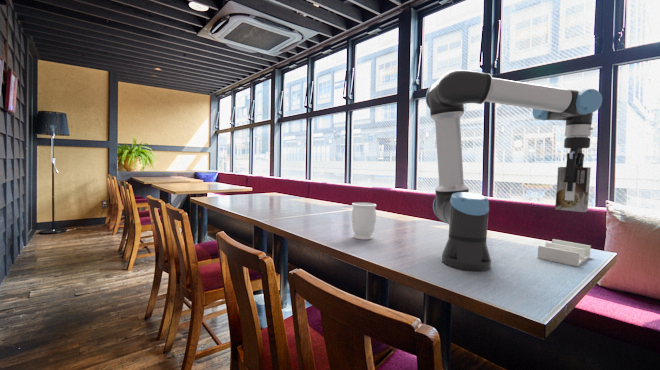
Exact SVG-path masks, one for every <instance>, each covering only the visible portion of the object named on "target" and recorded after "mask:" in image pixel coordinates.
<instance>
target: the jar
mask: <svg viewBox="0 0 660 370" xmlns="http://www.w3.org/2000/svg"><path fill="white" fill-rule="evenodd" d="M351 206H352V210H351V224H352V225H351V226H352V231H353V238H354V239H357V240H361V241H362V240H363V241H366V240H372V239H373V237H374V236H373V235H372V234H373V233H374V231H375V227H376V226H375V225H376V223H377V212H376V208H377V207H378V206H377V204H376V203H373V202H365V201H364V202H363V201H362V202H359V201H358V202H352V203H351Z"/></svg>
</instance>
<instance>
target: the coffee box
mask: <svg viewBox="0 0 660 370" xmlns="http://www.w3.org/2000/svg"><path fill="white" fill-rule="evenodd" d="M591 169H592V168H591V167H590V166H589V167H587V166H583V167H577V170H576V178H575V182H574V183H576V185H575V197H574V201H570V200H565V190H566V182H563V180H565V172H566V166H559V167H557V175H556V181H557V182H556V191H555V192H556V193H555V207H554V210H559V211H568V212H569V211H570V212H576V213H577V212H579V213H586V212H588V210H589V209H588V208H589V194H590V193H589V192H590V179H591Z"/></svg>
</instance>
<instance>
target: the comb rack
mask: <svg viewBox="0 0 660 370" xmlns="http://www.w3.org/2000/svg"><path fill="white" fill-rule="evenodd" d="M537 247H538V248H537V259H540V260H546V261H551V262H555V263H559V264H564V265H569V266H574V267H580V266H581V265H582V264H584V263H585V262H586V261H588V260H589V259H590V258H591V249H592V245H589V244H584V243H578V242H572V241H566V240H561V239H555V238H552V240H551V242H545V245H537Z"/></svg>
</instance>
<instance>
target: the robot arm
mask: <svg viewBox="0 0 660 370" xmlns="http://www.w3.org/2000/svg"><path fill="white" fill-rule="evenodd" d="M425 102H426V105H427V108H429V112H430V113H429V114H430V119H432V120H433V121H434V122H435V123H434V126H435V140H436V155H437V169H438V171H437V172H438V186H437V187H436V188H435V189H434V190H435V192H434V193H435V198H434V199H433V202H432V210H433V213H434V215H435V216H436V218H437V219H438V220H440V221H441V222H442V223H445V224H447V225H448V239H447V241H446V243H445V245H444V246H445V247H444V249H443V250H442V254H441V262H442V263H443V264H445V265H447V266H450V267H452V268H455V269H460V270H465V271H473V272H474V271H476V272H477V271H487V270H490V268H491V265H492V259H491V256H490V255H491V254H490V252H489V248H488V246H487V237H488V235H487V234H488V225H489V223H488V222H489V212H490V204H489V203H490V202H489V201H490V200H489V199H488V198H487V197H486V196H485V195H483V194H479V193H475V192H469V187H468V186H467V185H466V184H465V183H464V167H463V151H462V150H463V148H462V134H461V133H462V132H461V129H462V128H461V118H462V116H463V115H464V113H465V104H477V105H483V104H484V103H485V102H487V103H493V104H499V105H506V106H513V107H519V108H526V109H532V116H533V118H534V119H535V120H539V121H541V120H542V121H543V122H544V121H565V128H564V130H565V131H564V137H565V138H564V141H563V143H564V144H563V147H564V148H565V149H569V152H567V153H566V164H565V167H566V172H565V180H563V182H566V190H565V200H570V201H574V197H575V185H576V183H574V182H575V178H576V170H577V167H584V158H585V153H584V152H583V149H589V148H590V146H591V138H590V136H591V133H592V132H591V131H593V130H594V127H592V123H593V116H594V115H593V114H594V113H595V112H596V111H598V110H599V109H600V108H601V106H602V103H603V96H602V93H600V91H599V90H597V89H595V88H585V89H582V90H577V89H576V90H575V89H567V88H561V87H560V88H559V87H555V86H550V85H549V86H547V85H540V84H536V83H535V84H534V83H529V82H528V83H527V82H523V81H517V80H516V81H515V80H509V79H503V78H497V77H493V76H492V74H491V73H488V72H480V71H474V70H468V69H467V70H466V69H455V70H451V71H448V72H446V73H445V74H443V75H442V76H440V78H438V79H436V80H435V81H433V82H432V83H431V85H430V86H429V87H428V89H427V90H426V94H425Z"/></svg>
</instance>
